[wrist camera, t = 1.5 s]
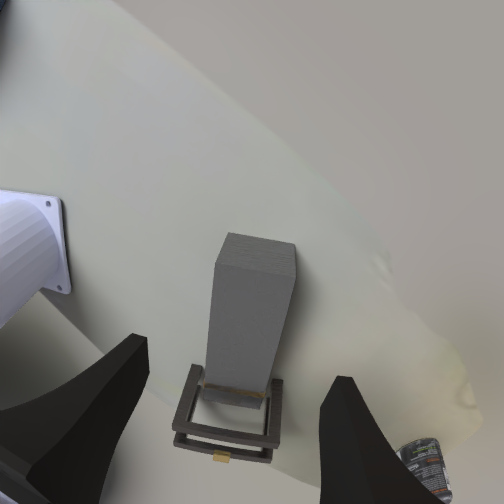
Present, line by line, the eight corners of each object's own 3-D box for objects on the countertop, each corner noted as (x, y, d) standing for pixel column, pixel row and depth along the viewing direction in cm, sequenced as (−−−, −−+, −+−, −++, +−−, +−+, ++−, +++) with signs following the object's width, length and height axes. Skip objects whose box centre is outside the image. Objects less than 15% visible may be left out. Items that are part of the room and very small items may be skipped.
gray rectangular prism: (212, 360, 24) (202, 399, 20) (227, 231, 19) (214, 262, 16) (264, 370, 24) (260, 409, 20) (295, 243, 19) (297, 277, 16)
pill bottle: (383, 459, 30) (393, 538, 20) (413, 435, 27) (431, 521, 17) (417, 460, 30) (430, 531, 20) (447, 437, 28) (467, 513, 18)
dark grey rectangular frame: (191, 390, 26) (172, 451, 20) (191, 382, 25) (171, 444, 20) (273, 405, 26) (269, 468, 20) (276, 397, 25) (272, 462, 19)
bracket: (191, 370, 25) (172, 430, 19) (191, 363, 24) (171, 424, 19) (280, 386, 25) (277, 449, 19) (282, 380, 24) (279, 444, 19)
